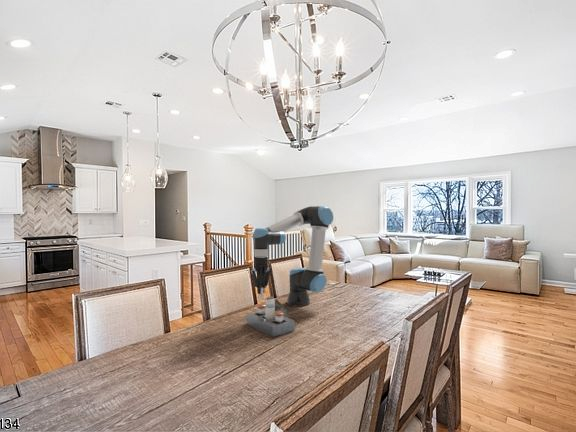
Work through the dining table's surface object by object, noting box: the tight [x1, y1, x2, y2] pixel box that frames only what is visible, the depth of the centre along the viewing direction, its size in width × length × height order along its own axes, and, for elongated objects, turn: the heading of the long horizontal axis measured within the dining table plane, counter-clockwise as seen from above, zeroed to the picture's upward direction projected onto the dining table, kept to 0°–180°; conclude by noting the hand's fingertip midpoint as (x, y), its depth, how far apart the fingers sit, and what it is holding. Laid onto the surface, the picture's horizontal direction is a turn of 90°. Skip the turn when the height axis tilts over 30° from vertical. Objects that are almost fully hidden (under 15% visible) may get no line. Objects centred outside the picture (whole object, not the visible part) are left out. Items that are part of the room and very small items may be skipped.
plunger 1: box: [256, 303, 265, 316], centre depth 176 cm, size 5×5×7 cm
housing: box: [246, 311, 296, 338], centre depth 169 cm, size 14×24×5 cm, turn 39°
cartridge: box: [264, 296, 276, 321], centre depth 169 cm, size 5×5×16 cm
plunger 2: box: [274, 311, 284, 324], centre depth 163 cm, size 5×5×7 cm
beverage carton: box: [275, 299, 288, 318], centre depth 189 cm, size 8×19×7 cm, turn 18°
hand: (260, 299), depth 175 cm, fingers closed
